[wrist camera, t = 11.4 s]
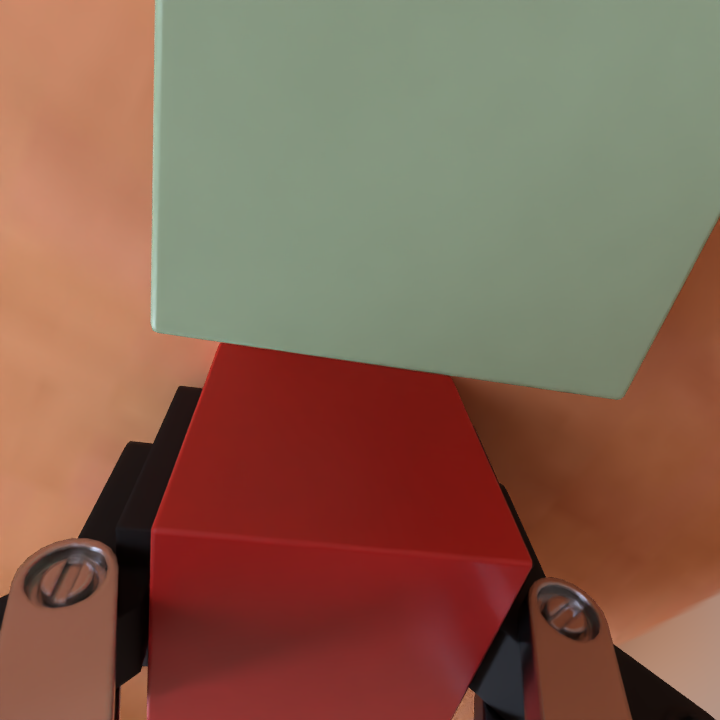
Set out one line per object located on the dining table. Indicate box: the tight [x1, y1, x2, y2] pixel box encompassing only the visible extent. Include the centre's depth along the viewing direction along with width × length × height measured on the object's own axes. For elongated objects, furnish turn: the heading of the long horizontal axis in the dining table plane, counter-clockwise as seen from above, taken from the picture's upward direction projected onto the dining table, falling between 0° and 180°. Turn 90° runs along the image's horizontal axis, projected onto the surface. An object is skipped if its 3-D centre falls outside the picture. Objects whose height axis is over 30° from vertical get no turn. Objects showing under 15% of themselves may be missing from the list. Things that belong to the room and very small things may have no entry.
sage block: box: [151, 0, 720, 400], centre depth 6 cm, size 5×5×5 cm
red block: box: [147, 343, 532, 720], centre depth 10 cm, size 5×5×5 cm
